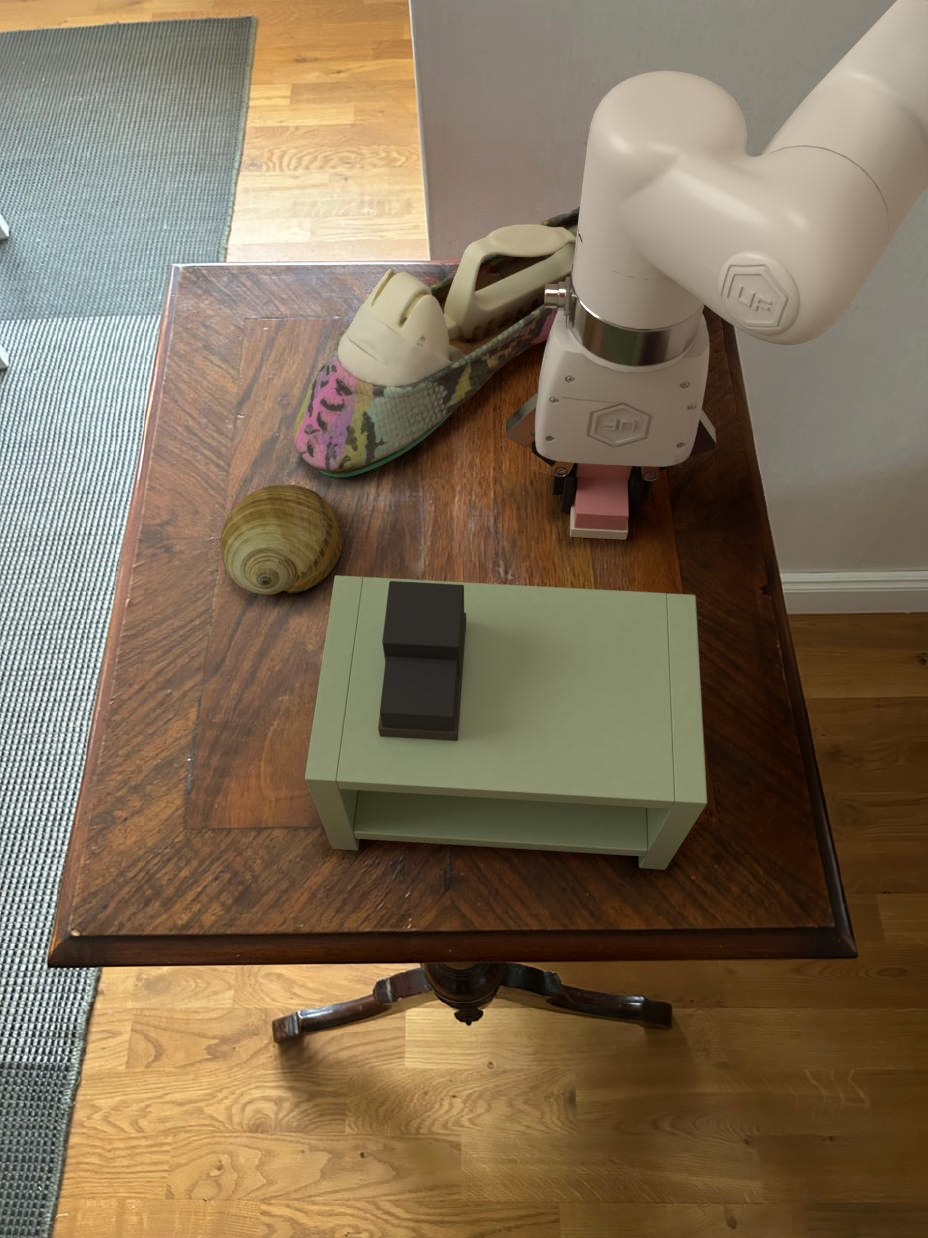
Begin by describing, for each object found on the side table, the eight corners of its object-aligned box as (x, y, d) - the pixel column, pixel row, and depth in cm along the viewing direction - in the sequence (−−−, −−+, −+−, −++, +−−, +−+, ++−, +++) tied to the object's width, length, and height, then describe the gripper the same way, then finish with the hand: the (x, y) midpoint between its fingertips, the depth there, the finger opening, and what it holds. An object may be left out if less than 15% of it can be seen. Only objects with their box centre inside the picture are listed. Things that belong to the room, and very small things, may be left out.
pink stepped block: (571, 459, 75) (576, 421, 72) (624, 461, 75) (632, 424, 72) (569, 537, 72) (575, 502, 68) (626, 540, 72) (634, 505, 68)
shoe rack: (659, 688, 66) (695, 594, 56) (665, 870, 60) (707, 803, 50) (355, 670, 67) (334, 574, 56) (332, 849, 61) (304, 779, 50)
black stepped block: (392, 617, 55) (387, 576, 51) (466, 621, 55) (466, 580, 51) (379, 736, 51) (372, 702, 48) (457, 741, 51) (457, 707, 48)
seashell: (292, 541, 77) (207, 485, 72) (358, 491, 73) (274, 430, 68) (290, 640, 70) (196, 587, 65) (362, 591, 67) (270, 531, 62)
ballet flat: (259, 423, 77) (230, 317, 68) (557, 247, 86) (568, 132, 77) (341, 511, 73) (322, 410, 64) (643, 316, 82) (666, 203, 73)
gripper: (484, 348, 56) (480, 534, 72) (789, 362, 55) (717, 547, 71) (491, 254, 60) (485, 451, 76) (777, 266, 59) (711, 462, 75)
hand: (598, 496), depth 73 cm, fingers closed on pink stepped block, 4 cm apart
